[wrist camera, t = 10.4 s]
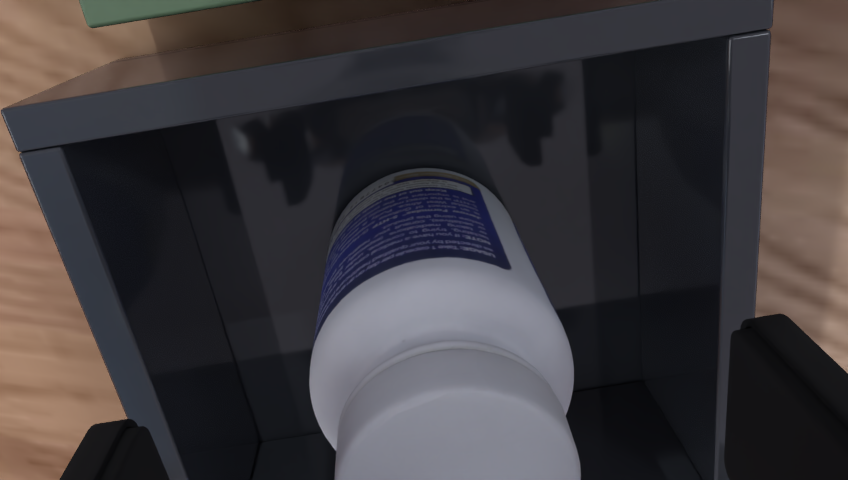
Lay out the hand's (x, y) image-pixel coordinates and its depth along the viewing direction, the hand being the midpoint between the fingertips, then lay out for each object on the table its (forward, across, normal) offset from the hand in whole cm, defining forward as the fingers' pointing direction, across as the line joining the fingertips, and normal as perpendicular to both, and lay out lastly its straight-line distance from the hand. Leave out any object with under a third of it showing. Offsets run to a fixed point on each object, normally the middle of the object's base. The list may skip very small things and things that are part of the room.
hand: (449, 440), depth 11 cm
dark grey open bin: (+9, 0, +1) cm, 9 cm away
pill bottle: (+9, 0, +1) cm, 9 cm away
